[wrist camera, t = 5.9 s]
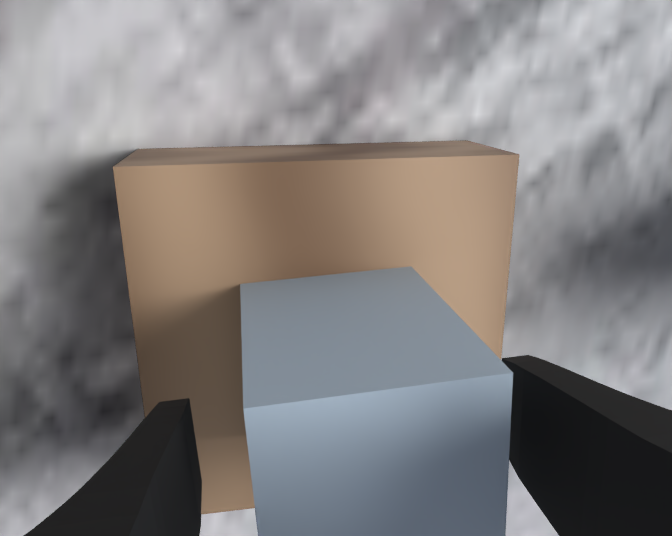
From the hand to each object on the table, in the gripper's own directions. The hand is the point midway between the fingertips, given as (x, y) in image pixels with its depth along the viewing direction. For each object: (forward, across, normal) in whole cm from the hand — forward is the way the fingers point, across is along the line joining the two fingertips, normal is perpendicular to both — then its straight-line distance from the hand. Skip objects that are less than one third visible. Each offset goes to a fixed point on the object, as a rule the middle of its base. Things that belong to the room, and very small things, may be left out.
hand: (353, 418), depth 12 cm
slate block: (+3, 0, 0) cm, 4 cm away
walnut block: (+8, 0, 0) cm, 8 cm away
